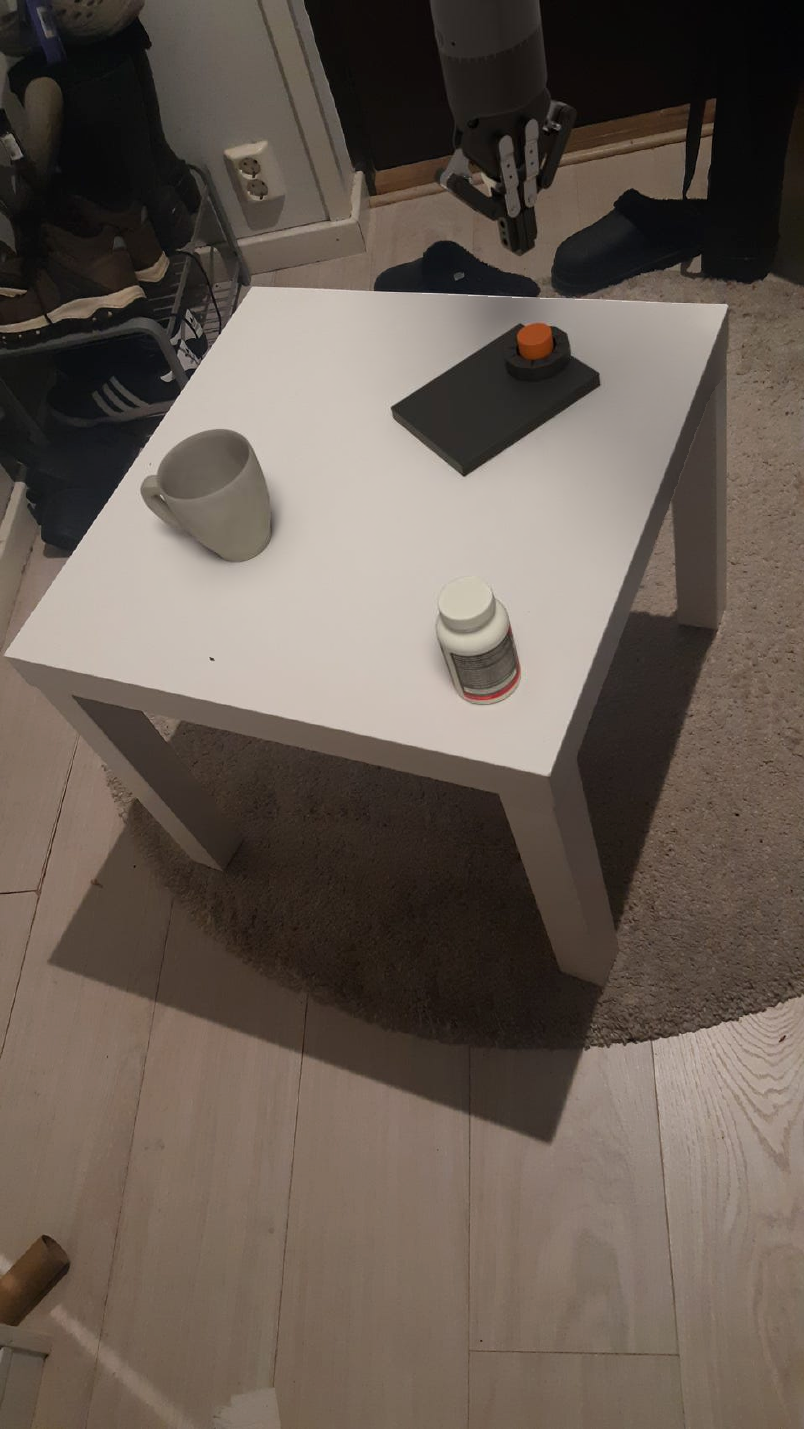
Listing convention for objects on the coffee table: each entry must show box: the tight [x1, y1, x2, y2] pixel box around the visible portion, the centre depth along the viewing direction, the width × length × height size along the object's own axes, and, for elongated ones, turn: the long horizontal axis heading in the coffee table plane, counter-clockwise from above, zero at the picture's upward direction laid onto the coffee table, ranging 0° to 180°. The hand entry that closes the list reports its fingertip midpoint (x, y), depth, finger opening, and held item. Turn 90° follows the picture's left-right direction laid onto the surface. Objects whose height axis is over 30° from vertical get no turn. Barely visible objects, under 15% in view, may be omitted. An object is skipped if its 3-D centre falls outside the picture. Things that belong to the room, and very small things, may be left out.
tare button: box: [517, 322, 553, 360], centre depth 92 cm, size 3×3×2 cm
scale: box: [390, 322, 601, 477], centre depth 93 cm, size 17×12×3 cm
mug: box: [139, 428, 272, 563], centre depth 88 cm, size 12×9×10 cm
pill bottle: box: [435, 576, 522, 705], centre depth 73 cm, size 5×5×10 cm
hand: (521, 249), depth 85 cm, fingers closed
